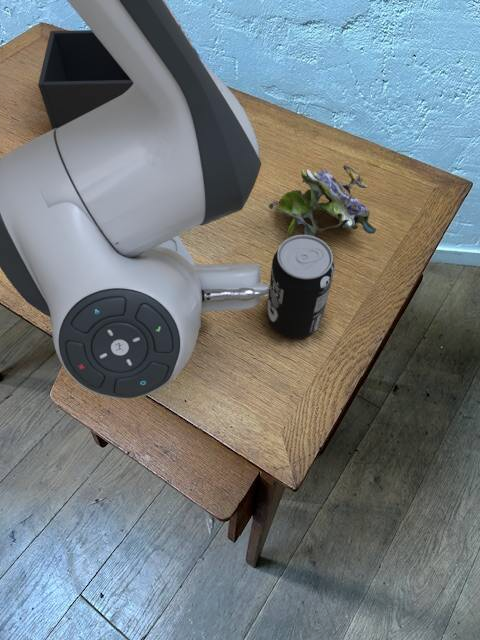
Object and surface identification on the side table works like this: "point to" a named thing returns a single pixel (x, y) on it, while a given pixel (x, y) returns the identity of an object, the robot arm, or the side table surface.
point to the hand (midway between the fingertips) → (164, 276)
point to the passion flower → (337, 206)
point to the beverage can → (299, 286)
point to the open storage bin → (78, 76)
